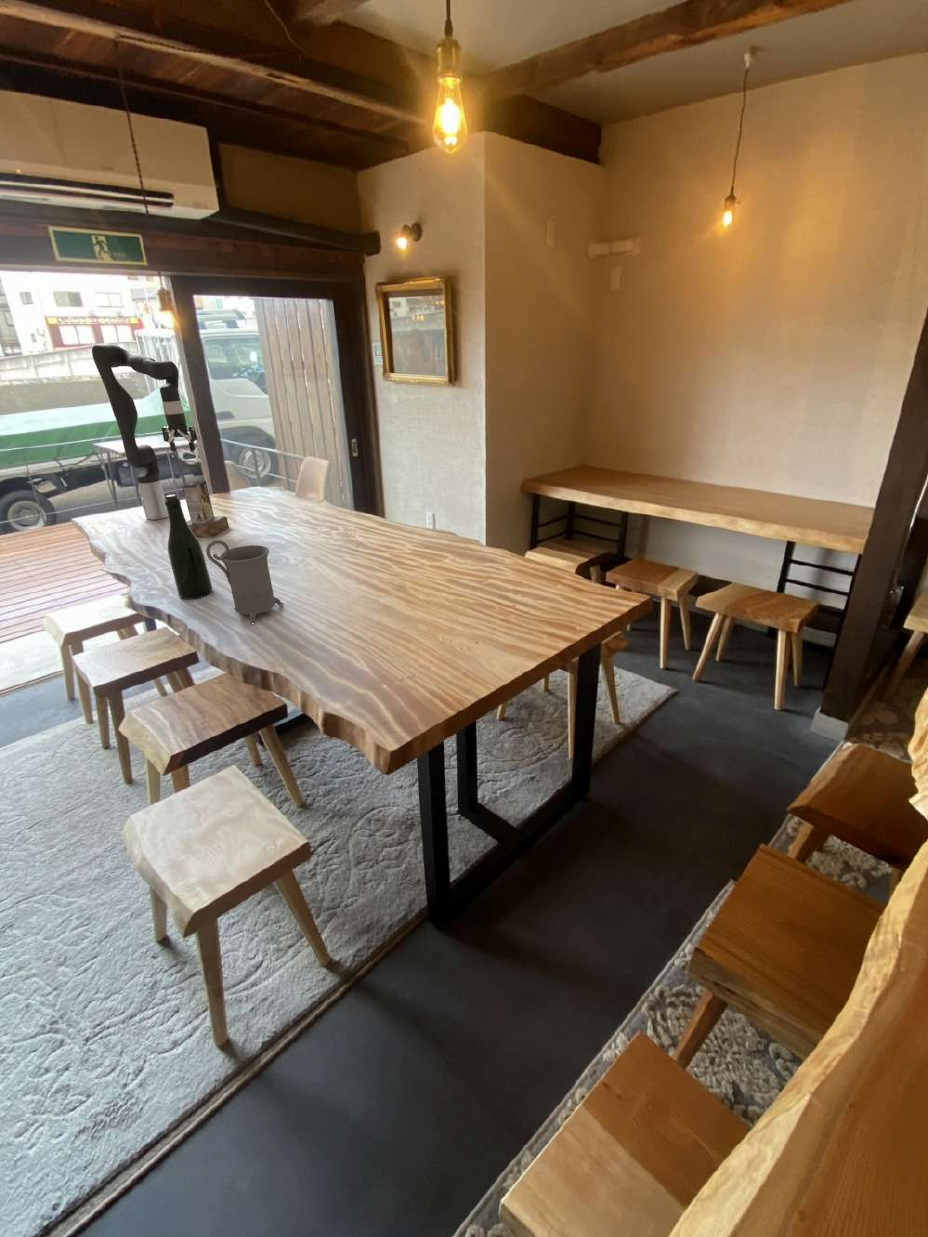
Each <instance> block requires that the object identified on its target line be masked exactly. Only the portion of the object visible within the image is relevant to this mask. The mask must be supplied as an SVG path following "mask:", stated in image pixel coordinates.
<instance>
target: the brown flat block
mask: <svg viewBox="0 0 928 1237" xmlns="http://www.w3.org/2000/svg"><path fill="white" fill-rule="evenodd" d="M186 522H187V524H188V526H189V528H190V529H191V531H192V532H193V533H194V535H195V536H196V538H197V539H213V538H215V537H217V536H219V535H220V534H222V533H223V532H225V531H226V530H228V529H230V526H229V525H230V524H229V521H228V517H227V516H225V515H222V516H221V515H220V516H219V515H217V516H216V515H214V518H212V519H211V520H210V521H208V522H207V523H199V524H192V523H191V519H190V520H187V521H186Z"/></svg>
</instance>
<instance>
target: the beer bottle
mask: <svg viewBox="0 0 928 1237" xmlns="http://www.w3.org/2000/svg"><path fill="white" fill-rule="evenodd" d="M164 497H165V506H166V508H167V512H168V517H167V518H168V523H169V532H168V539H167V553H168V558H169V562H170V566H171V570H172V575H173V579H174V583H175V587H176V590H177V593H178V596H179V597H180V598H181V597H182V599H184V598H195V599H198V598H197V597H200V598H202V597H201V596H203V597H205V596H204V595H206V596H207V594H208V595H209V594H211V593H212V591H213V585H212V584H213V583H212V581H211V578H210V576H211V575H210V573H209V570H208V566H207V562H206V561H207V560H206V559H205V554H204V552H203V549H202V545H201V543H200V541H199V538H196V536H195V535H194V533H193V532H192V531H191V529H190V528H189V526H188V524H187V522H188V521H187V519H186V518H185V515H184V512H183V508H182V501H181V500H180V498H178V495H177V494H168V495H164Z"/></svg>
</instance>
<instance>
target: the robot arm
mask: <svg viewBox="0 0 928 1237" xmlns="http://www.w3.org/2000/svg"><path fill="white" fill-rule="evenodd" d="M91 355H92V359H93V362H94V364H95V367H96V369H97V371H98V374H99V375H100V378H101V380H102V382H103V385H104V388H105V391H106V394H107V397H108V400H109V403H110V406H111V409H112V412H113V415H114V417H115V420H116V424H117V428H119V432H120V436H121V440H122V444H123V449H124V453H125V456H126V457H125V458H126V460H127V462H128V463H129V464H130V466H131V467H132V468H134V469H142V468H143V469H142V471H141V473H139V474H138V475H137V476H136V480H137V483H138V487H139V491H140V493H141V494H140V495H141V499H140V501H141V504H142V508H143V512H144V514H145V519H146V520H147V519H148V520H152V521H153V520H163V519H165V518H169V517H168V512H167V508H166V506H165V500H166V498H165V494H164V490H163V486H162V482H161V479H160V470H159V463H158V458H157V455H156V452H155V450H154V449H153V447H152V446H150V445H148V444H141V445H137V444H138V443H137V441H136V440H137V439H136V435H135V434H136V433H135V432H136V428H137V424H138V418H139V416H138V415H139V414H138V409H137V407H136V404H135V401H134V399H133V397H132V396H131V395H130V393H129V392H128V391H127V390H126V389H125V388H124V386H122V385H121V384H120V382H119V381H118V380H117V378H116V376H115V374H114V371H113V368H119V367H129V368H131V370H133V371H134V372H136V373H139V374H143V375H147V376H149V377H150V378H151V379H154V380H157V381H164V380H165V385H163V386H161V387H160V388H159V393H160V397H161V401H162V408H163V413H164V416H165V420H166V424H167V426H162V427H161V431H162V437H163V441H164V442H165V443H166V442H167V443H168V444H169V448H170V450H171V451H172V453H175V452H177V447H176V443H175V439H177V438H183V439H185V440H186V441H187V442H188V446H189V449H190V450H189V451H190V452H195V450H196V446H195V442H196V441H198V436H197V433H196V429H195V426H194V425H191V426H187V418H186V417H185V412H184V411H185V410H184V406H183V404H182V400H181V397H180V393H179V378H180V376H179V369H178V367H177V365H176V364H175V362H173V361H171V360H160V361H156V360H155V359H154V358H152V357H149V356H145V355H141V354H139V353H138V354H137V353H133V352H131V351H129V350H127V349H125V348H123V347H121V346H119V345H116V344H114V343H105V344H103V343H102V344H94V345H93V346H92V348H91ZM169 432H170V434H169Z"/></svg>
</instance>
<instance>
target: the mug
mask: <svg viewBox="0 0 928 1237" xmlns="http://www.w3.org/2000/svg"><path fill="white" fill-rule="evenodd" d="M216 544H220V545H222V546H223V547H224V549H225V550H224V551H223V552H222V553H221V554H220V555H219V556H218V555H217V553H213V556H212V554H211V548H212V547H213V546H215V545H216ZM269 553H270V549H269V548H268V547H267V546H263V545H258V544H256V545H255V544H254V545H253V544H250V545H249V544H248V545H241V546H237V547H233V548H230V547H229V545H228V543H226V542H225V541H224V540H219V539H217V540H213V541H211V542H210V543H208V544H207V546H206V550H205V554H206V556H207V558H208V559H209V561H211V562H212V563H214V565H216V566H217V567H219V569H221V571H222V572H223V574H224V575H225V577H226V579H227V582H228V584H229V586H230V590H231V595H232V598H233V603H234V607H233V609H234V610H235V611H236V612H237V613H239V614H241V615H246V616H247V615H248V616H249V619H250V622H251V623H254V622H256V616H257V614H262V613H265V612H268V611H269V610H271V609H273V608H274V607H275V605H276V604H277V605H278V606H280V605H281V604H283V605H284V603H283V602H282V601H280V599H279V598H278V597H276V596H275V595H274V588H273V585H272V580H271V575H270V570H269V564H268V562H269V560H268V556H269ZM219 561H221V562H222V563H223V564H224V566H223V565H222V564H221V562H219ZM281 606H282V605H281ZM254 624H255V623H254Z"/></svg>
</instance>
